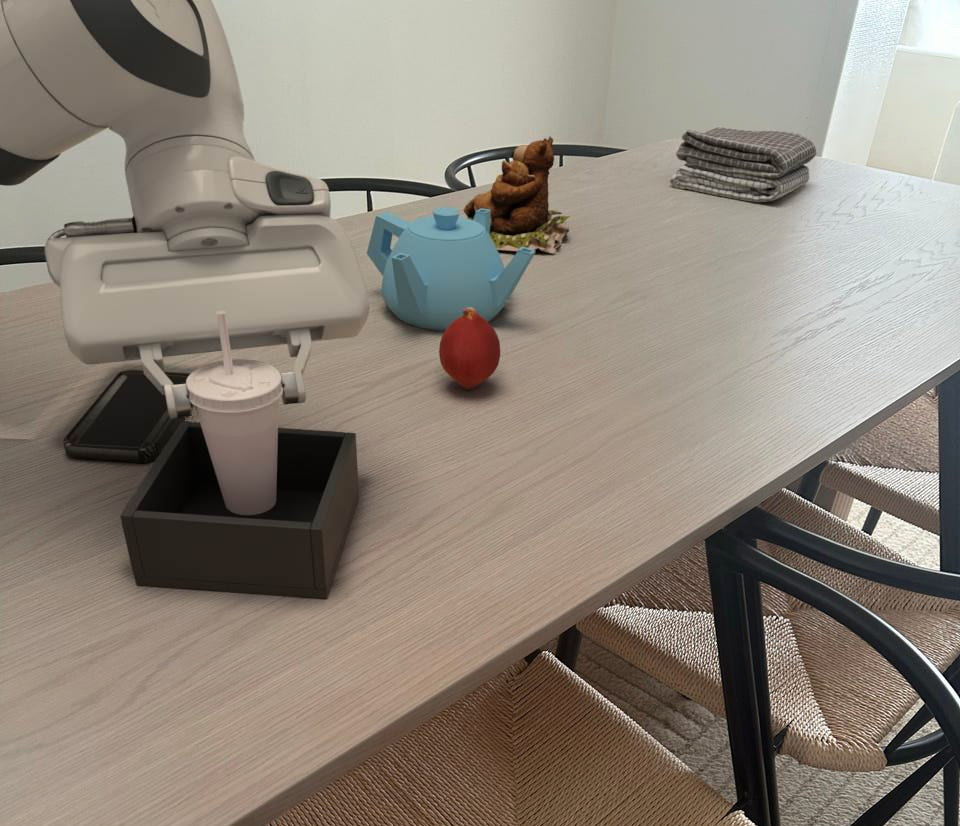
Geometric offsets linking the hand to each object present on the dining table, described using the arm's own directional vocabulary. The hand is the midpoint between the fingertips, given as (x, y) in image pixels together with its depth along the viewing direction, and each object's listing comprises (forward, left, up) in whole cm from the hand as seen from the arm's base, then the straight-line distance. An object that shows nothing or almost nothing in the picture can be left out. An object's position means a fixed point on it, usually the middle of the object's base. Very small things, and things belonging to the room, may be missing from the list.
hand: (239, 408), depth 67 cm
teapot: (+10, +48, -11) cm, 50 cm away
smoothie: (0, +1, -8) cm, 8 cm away
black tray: (0, +1, -11) cm, 11 cm away
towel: (+50, +106, -11) cm, 117 cm away
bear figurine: (+16, +74, -11) cm, 77 cm away
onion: (+14, +29, -11) cm, 34 cm away
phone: (-15, +18, -11) cm, 26 cm away
